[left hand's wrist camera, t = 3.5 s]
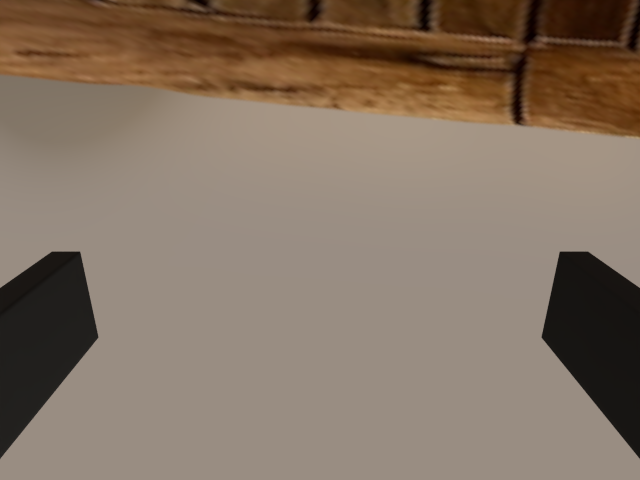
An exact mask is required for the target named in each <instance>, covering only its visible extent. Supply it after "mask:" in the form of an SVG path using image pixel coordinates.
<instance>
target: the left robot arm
mask: <svg viewBox="0 0 640 480" xmlns="http://www.w3.org/2000/svg"><path fill="white" fill-rule="evenodd" d="M97 338H98V333H97V329H96V324H95V319H94V314H93V310H92V305H91V300H90V296H89V291H88V286H87V282H86V277H85V272H84V268H83V263H82V258H81V254H80V252H51V253H50V254H48V255H47V256H45V257H44V258H42V259H41V260H40V261H38V262H37V263H35V264H34V265H32V266H31V267H30V268H28V269H27V270H25V271H24V272H22V273H21V274H20V275H18V276H17V277H15V278H14V279H12V280H11V281H10V282H8V283H7V284H5V285H4V286H2V287H1V288H0V458H1V457H2V456H3V455H4V453H5V452H6V451H7V450H8V448H9V447H10V446H11V445H12V443H13V442H14V441H15V440H16V438H17V437H18V436H19V435H20V434H21V432H22V431H23V430H24V429H25V427H26V426H27V425H28V424H29V422H30V421H31V420H32V419H33V418H34V416H35V415H36V414H37V413H38V411H39V410H40V409H41V408H42V406H43V405H44V404H45V403H46V401H47V400H48V399H49V398H50V397H51V395H52V394H53V393H54V391H55V390H56V389H57V388H58V387H59V385H60V384H61V383H62V382H63V380H64V379H65V378H66V377H67V375H68V374H69V373H70V372H71V371H72V369H73V368H74V367H75V366H76V364H77V363H78V362H79V361H80V359H81V358H82V357H83V356H84V354H85V353H86V352H87V351H88V350H89V348H90V347H91V346H92V345H93V343H94V342H95V341H96V340H97ZM542 339H543V340H544V341H545V342H546V343H547V345H548V346H549V347H550V348H551V350H552V351H553V352H554V353H555V354H556V356H557V357H558V358H559V359H560V361H561V362H562V363H563V364H564V366H565V367H566V368H567V369H568V371H569V372H570V373H571V374H572V376H573V377H574V378H575V379H576V380H577V382H578V383H579V384H580V385H581V387H582V388H583V389H584V390H585V392H586V393H587V394H588V395H589V396H590V398H591V399H592V400H593V401H594V403H595V404H596V405H597V406H598V408H599V409H600V410H601V411H602V412H603V414H604V415H605V416H606V418H607V419H608V420H609V421H610V422H611V424H612V425H613V426H614V427H615V429H616V430H617V431H618V432H619V434H620V435H621V436H622V437H623V438H624V440H625V441H626V442H627V443H628V445H629V446H630V447H631V448H632V450H633V451H634V452H635V453H636V455H637V456H638V457H639V458H640V288H639V287H638V286H636V285H635V284H633V283H632V282H630V281H629V280H628V279H626V278H625V277H623V276H622V275H620V274H619V273H618V272H616V271H615V270H613V269H612V268H610V267H609V266H608V265H606V264H605V263H603V262H602V261H600V260H599V259H598V258H596V257H595V256H593V255H592V254H590V253H589V252H560V253H559V258H558V263H557V268H556V272H555V277H554V282H553V286H552V291H551V296H550V301H549V305H548V310H547V314H546V319H545V324H544V329H543V333H542Z"/></svg>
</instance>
